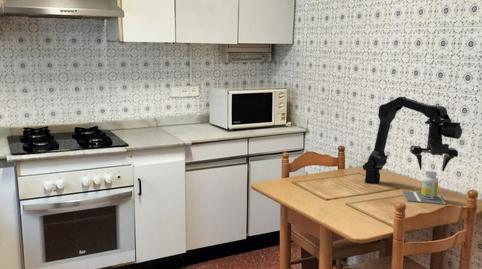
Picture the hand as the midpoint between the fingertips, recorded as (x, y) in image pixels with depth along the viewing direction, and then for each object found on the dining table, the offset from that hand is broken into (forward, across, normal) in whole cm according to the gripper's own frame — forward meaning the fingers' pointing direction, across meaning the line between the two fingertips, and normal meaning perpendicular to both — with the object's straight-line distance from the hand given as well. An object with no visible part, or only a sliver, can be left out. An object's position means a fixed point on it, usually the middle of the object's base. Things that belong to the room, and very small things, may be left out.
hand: (431, 170), depth 205 cm
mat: (+13, -2, 0) cm, 13 cm away
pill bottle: (+13, 0, 0) cm, 13 cm away
